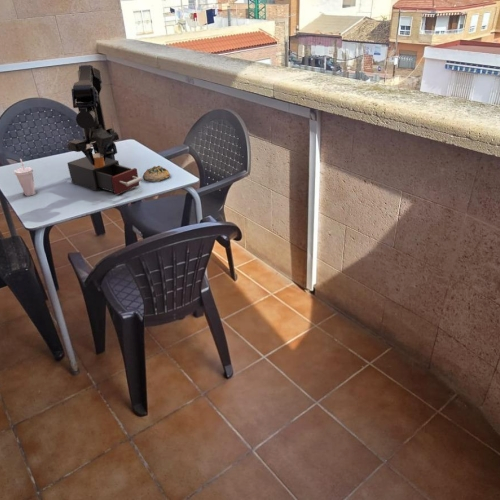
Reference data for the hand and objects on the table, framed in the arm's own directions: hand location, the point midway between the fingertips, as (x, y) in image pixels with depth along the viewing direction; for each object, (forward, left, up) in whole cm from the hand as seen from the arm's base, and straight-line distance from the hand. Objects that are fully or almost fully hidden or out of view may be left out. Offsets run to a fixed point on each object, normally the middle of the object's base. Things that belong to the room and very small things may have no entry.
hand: (98, 163), depth 162 cm
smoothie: (+18, -21, -11) cm, 30 cm away
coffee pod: (0, 0, -1) cm, 1 cm away
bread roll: (-21, +8, -11) cm, 25 cm away
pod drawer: (-4, +5, -10) cm, 12 cm away
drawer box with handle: (-4, -9, -11) cm, 15 cm away
